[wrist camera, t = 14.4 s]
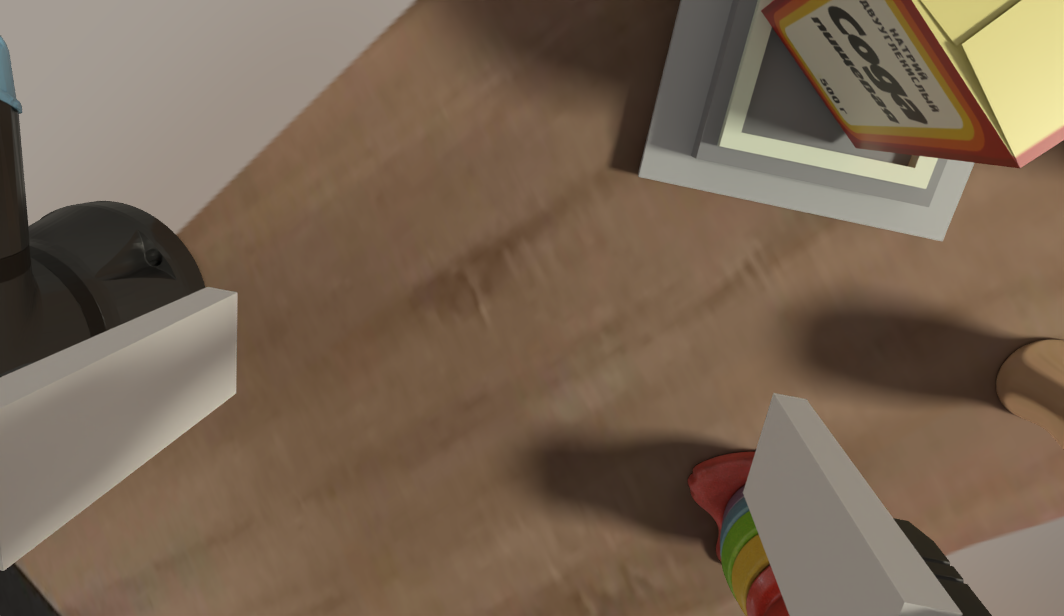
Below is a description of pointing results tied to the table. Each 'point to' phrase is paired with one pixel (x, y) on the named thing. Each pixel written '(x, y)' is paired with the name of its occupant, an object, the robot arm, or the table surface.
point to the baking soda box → (934, 73)
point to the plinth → (756, 184)
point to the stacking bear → (737, 533)
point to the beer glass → (1035, 385)
